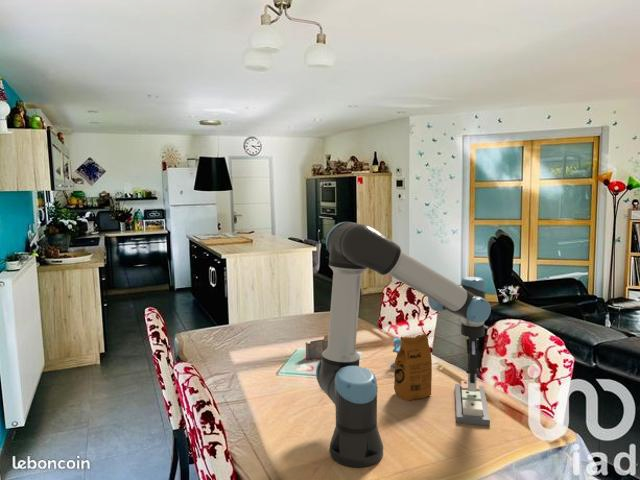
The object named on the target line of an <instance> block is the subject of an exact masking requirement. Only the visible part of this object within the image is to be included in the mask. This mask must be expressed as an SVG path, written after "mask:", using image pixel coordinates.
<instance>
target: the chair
mask: <svg viewBox="0 0 640 480" xmlns="http://www.w3.org/2000/svg"><path fill="white" fill-rule="evenodd" d="M392 341H393V346H394V348H393V349H392V353H396V355H397V354H398V352H399V350H400V347H401V345H402V342H401V341H402V340H401V338H399V337H394V338H393V340H392ZM394 365H395V362H393V363H390V368H394V369H395V366H394Z"/></svg>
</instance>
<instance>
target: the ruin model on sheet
mask: <svg viewBox="0 0 640 480" xmlns="http://www.w3.org/2000/svg"><path fill="white" fill-rule="evenodd" d="M328 335H329V334H323V338H322V339H317V340H316V339H315V340H310V342H307V341H305V358H306V359H307V360H308V361H310V360H315V358H316V359H322V352H323V351H324V350H326V349H327V347H328ZM309 359H310V360H309Z"/></svg>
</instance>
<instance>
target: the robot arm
mask: <svg viewBox="0 0 640 480" xmlns="http://www.w3.org/2000/svg"><path fill="white" fill-rule="evenodd" d="M325 245H326V246H325V247H326V248H327V252H328V253H329V259H328V267H329V268H330V269H331V270H332V273H333V275H332V286H331V299H330V309H329V310H330V312H329V313H330V314H329V323H328V334H327V335H328V347H327V349H326V350H324V351H323V352H322V357H321V359H320V360H319V361H318V363H317V365H316V368H315V377H316V380H317V384H318V385H319V387H320V389H321V391H323V393H325V395H326V396H327V397H328V398H329V400H331V402H332V403H333V404H334V406H335V427H334V430H333V434H332V437H331V440H330V443H329V454H330V457H331V458H332V459H333V460H334V461H335V462H337V463H338V464H340V465H343V466H346V467H352V468H365V467H370V466H373V465H376V464H377V463H379V462H380V461H381V460H382V458H383V456H384V444H383V441H382V438H381V435H380V432H379V428H378V383H377V381H378V380H377V377H376V375H375V373H374V372H372V370H370V369H368V368H366V367H363V366H360V357H361V356H360V354H359V353H358V351H357V352H356V351H355V349H356V344H357V334H358V321H359V312H360V311H359V309H360V298H361V287H362V274H363V273H365V272H366V271H367V269H369V270H370V271H374V272H375V273H377V274H380V275H381V276H387V275H388V276H390V277H392V278H393V279H395V280H397V281H399V282H401V283H402V284H404V285H406V286H408V287H410V288H411V289H413V290H415V291H417V292H419V293H420V294H422V295H423V296H426V297H427V301H428V305H429V308H430V309H431V310H433V311H434V312H438V311H439V312H442V311H447V312H449V313H452V314H454V315H457V316H459V317H460V322H461V323H460V334H461V335H462V336H464V337H465V340H466V341H465V342H466V352H467V353H466V354H467V370H466V374H467V381H468V391H472V392H476V382H478V380H477V378H478V377H477V375H478V372H479V368H478V354H479V348H480V341H479V338H482V337H484V336H485V335H486V334H485V333H486V332H485V331H486V330H485V327H486V326H485V322H486V321H487V320H488V318H489V317H490V315H491V311H492V308H491V307H492V306H491V304H490V303H489V301H488V300H487V299H486V283H485V280H484V279H483V278H482V277H479V276H465V277H462V278H461V282H460V284H457V283H456V282H453V280H450V279H449V278H447V277H445V276H444V275H442V274H441V273H439V272H437V271H436V270H434V269H432V268H431V267H428V266H427V265H425V264H424V263H422V262H420V261H419V260H418V259H415V258H414V257H412V256H410V255H409V254H407V253H405V252H404V251H402V247H401V245H399V244H398V243H396V242H394V241H393V240H391V239H390V238H389V237H387V236H386V235H384V234H383V233H381V232H380V231H379V230H376V229H375V228H374V227H372V226H369V225H367V224H362V223H361V224H360V223H357V222H352V221H343V222H342V221H341V222H338V223H337V224H335V225H334V226H332V227H331V228H330V229H329V230H328V233H327V235H326V238H325ZM466 337H467V338H466ZM362 367H363V368H362Z"/></svg>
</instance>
